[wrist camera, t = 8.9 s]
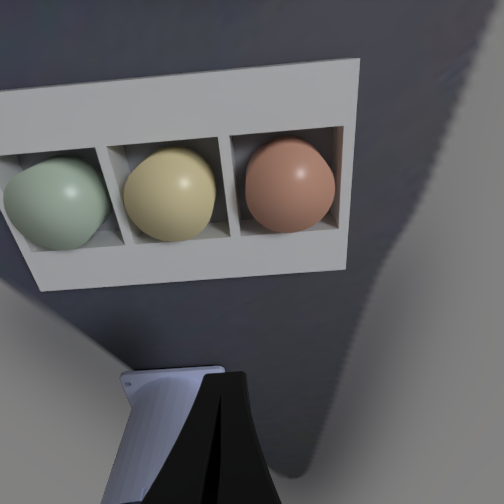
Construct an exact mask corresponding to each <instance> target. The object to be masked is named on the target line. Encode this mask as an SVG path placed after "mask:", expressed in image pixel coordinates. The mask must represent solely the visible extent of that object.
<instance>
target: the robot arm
mask: <svg viewBox="0 0 504 504" xmlns="http://www.w3.org/2000/svg"><path fill="white" fill-rule="evenodd" d="M120 381H121V384H122V386H123V389H124V391H125V393H126V396H127V398H128V401H129V403H130V405H131V408H132V410H131V413H130V416H129V419H128V422H127V425H126V428H125V431H124V434H123V437H122V440H121V443H120V446H119V449H118V452H117V455H116V458H115V461H114V464H113V467H112V470H111V473H110V476H109V480H108V482H107V485H106V488H105V492H104V495H103V498H102V501H101V504H282V503H281V501H280V498H279V496H278V493H277V491H276V489H275V486H274V484H273V481H272V478H271V476H270V473H269V470H268V467H267V464H266V462H265V459H264V456H263V453H262V450H261V447H260V444H259V440H258V437H257V433H256V430H255V426H254V423H253V419H252V415H251V407H250V400H249V392H248V385H247V377H246V373H244V372H243V371H240V372H225V370H224V368H223V367H221V366H205V367H190V368H174V369H159V370H143V371H127V372H123V373H122V374H121V376H120Z"/></svg>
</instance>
